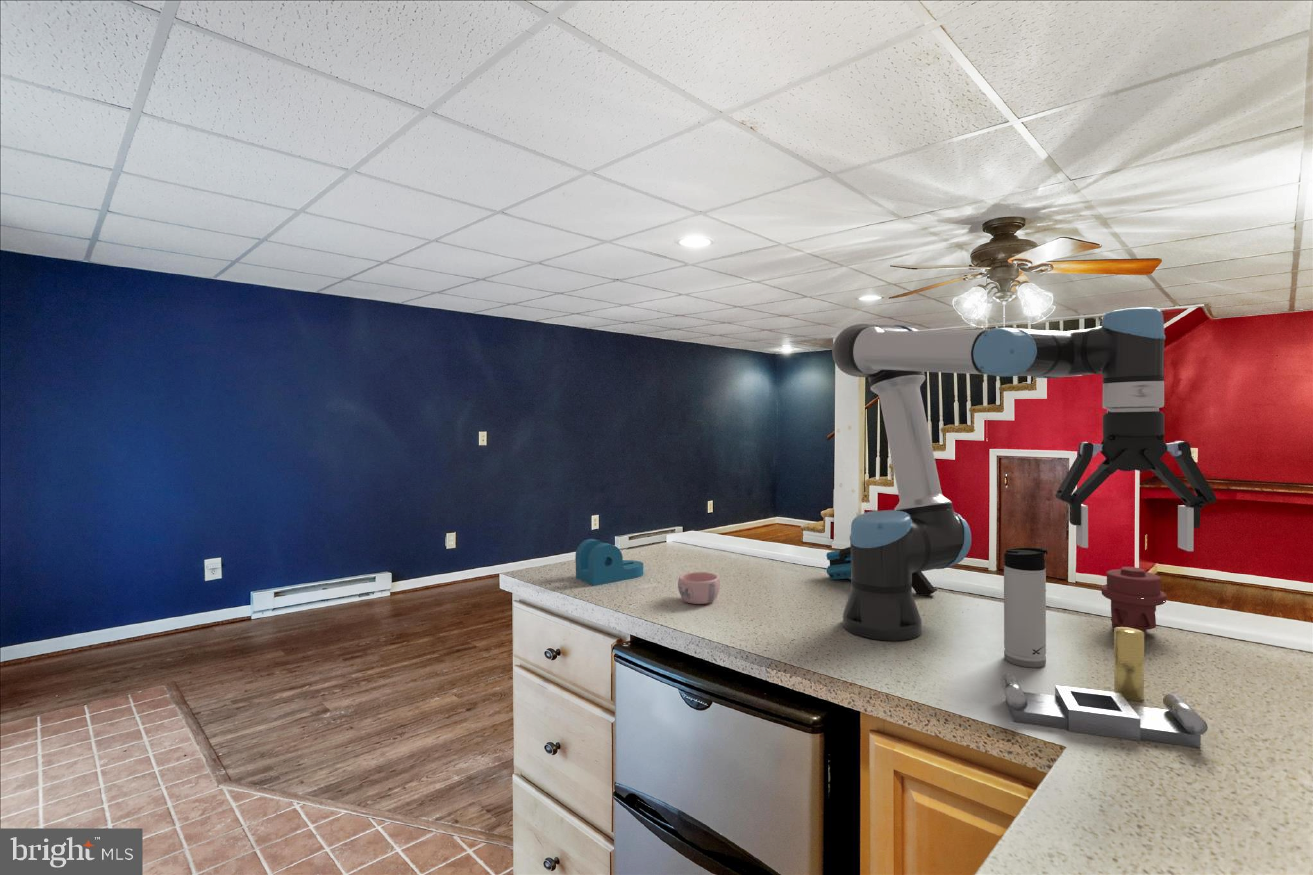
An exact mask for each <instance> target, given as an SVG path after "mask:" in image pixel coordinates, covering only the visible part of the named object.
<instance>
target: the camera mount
mask: <svg viewBox="0 0 1313 875" xmlns="http://www.w3.org/2000/svg"><path fill="white" fill-rule="evenodd" d="M623 558H624V557H623V554H622V551H621V549H619V547H617V546H616V545H613V544H611V543H606V542H603V541H601V540H598V539H594V538H588V539H585V540H583V541H582V542H581V543H580V544H579V545H578V547H577V548H576V551H575V559H574V560H575V578H576V579H577V580H579V581H581V582H583V583H586V584H588V585H591V586H593V587H597V586H602V585H603V586H604V585H607V584H612V583H618V582H622V581H628V580H634V579H637V578H640V577H643V576H644V563H643V562H642V561H640V560H639V561H638V560H633V559H629V560H628V559H623Z"/></svg>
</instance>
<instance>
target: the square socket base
mask: <svg viewBox="0 0 1313 875" xmlns="http://www.w3.org/2000/svg"><path fill="white" fill-rule="evenodd" d="M1000 684H1001V687H1002V690H1003V693H1004V695H1005V702H1006V704H1007V707H1008V710H1009V713H1010V715H1011V717H1012V721H1013V723H1022V724H1028V725H1036V726H1043V727H1049V728H1050V727H1051V728H1057V729H1064V730H1068V731H1069V732H1074V733H1081V734H1086V735H1096V736H1100V737H1101V736H1102V737H1108V738H1109V737H1111V738H1115V739H1124V740H1131V741H1137V742H1141V740H1142V741H1148V742H1155V743H1162V744H1170V745H1176V746H1177V745H1178V746H1185V747H1191V748H1197V749H1201V748H1202V747H1201V746H1202V745H1201V744H1202V743H1201V737H1202V736H1201V735H1204V734H1205V733H1207V731H1208V724H1207V722H1206V720H1204V719H1203V718H1202V717H1201V716H1200V715H1199V714H1198V712H1197V711H1195V710H1194V708H1192V706H1191V705H1190V704H1189V703H1188V702H1187V701H1186V700H1185V699H1184V698H1183V697H1182V696H1181V695H1179V694H1177V693H1167V694H1166V695H1165V696H1163V698H1162V704H1163V705H1164V707H1165V708H1166V709H1164V708H1163V709H1162V708H1155V707H1149V706H1148V707H1146V706H1141V705H1140V706H1139V705H1131V704H1129V702H1128V700H1125V698H1124V697H1123V696H1122V695H1121V693H1116V692H1114V691H1108V690H1097V689H1089V688H1082V687H1074V686H1065V685H1064V686H1063V685H1057V684H1055V685H1054V687H1055V688H1054V693H1055V694H1054V695H1053V694H1052V695H1051V694H1042V693H1036V692H1035V693H1034V692H1028V691H1027V692H1026V691H1023V689H1022V687H1021V684H1020V682H1019V679H1018V678H1017V677H1016V676H1015V675H1013V674H1008V673H1007V674H1005V675H1002V676H1001V678H1000Z"/></svg>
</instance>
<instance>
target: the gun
mask: <svg viewBox="0 0 1313 875" xmlns="http://www.w3.org/2000/svg"><path fill="white" fill-rule="evenodd" d="M825 556H826V560H827V561H829V565H828V566H827V568H826V573H827V575H828V577H829V578H830V580H831V581H832V580H833V581H834V580H845V579H851V547H850V546H847V547H845V548H841V549H839V550H831V551H829V552H826V555H825ZM912 590H914V592H915V593H914V594H915V595H916V596H931V595H932V594H934V593H935V592H937V591H938V588H935V587H934V586H933V585H932V583H931V581H929V580H928V578H927V576H925V574H924V573H923V571H921V572H915V573H912Z"/></svg>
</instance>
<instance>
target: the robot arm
mask: <svg viewBox="0 0 1313 875" xmlns="http://www.w3.org/2000/svg"><path fill="white" fill-rule="evenodd" d="M1100 324H1101V325H1100V326H1097V327H1093V328H1086V329H1084V328H1083V329H1076V330H1067V331H1065V330H1064V331H1063V330H1061V331H1060V330H1049V329H1047V330H1046V329H1045V330H1044V329H1028V328H1018V327H1014V326H1011V327H1009V326H1008V327H1007V326H1006V327H997V328H996V327H995V328H991V329H986V328H985V329H982V328H981V329H979V328H977V329H945V330H944V329H943V330H941V329H940V330H938V329H937V330H919V329H917V328H914V327H909V326H905V325H899V324H896V325H887V324H885V325H884V324H871V323H870V324H869V323H859V324H852V325H850V326H847V327H846V328H843V330H842V331H840V333H839V334H838V335H837V336H836V338H835V340H834V341H833V345H832V351H831V354H832V358H833V361H834V364H835V365H836V367H837V368H838V369H839V370H840V371H841V372H843V373H844V374H846V375H847V376H852V377H854V378H855V377H856V378H868V382H869V383H868V384H869V389H870V391H871V392H873V393H874V394H876V395H878V398H879V403H880V408H881V412H882V417H883V422H884V428H885V433H886V437H887V438H886V439H887V443H888V448H889V453H890V458H891V462H892V464H891V465H892V469H893V473H894V479H895V483H896V489H897V493H898V499H899V502H898V504H897V505H896V506H895V507H894V509H888V510H887V509H886V510H885V509H884V510H874V511H868V512H864V513H861V514H858V515H857V516H856V517H854V518H853V520H852V521H851V524H850V534H849V542H850V546H849V547H851V578H850V579H851V580H850V585H851V586H850V588H851V589H850V592H849V595H848V598H847V600H846V603H845V606H844V610H843V612H842V626H843V628H844V629H845V630H846V631H847V632H850V633H851V634H854V635H856V636H859V637H863V638H867V639H872V640H877V641H878V640H880V641H893V642H894V641H905V640H911V639H915V638H918V637H920V635H922V631H923V629H922V628H923V625H922V624H923V622H922V618H921V615H920V612H919V609H918V606H917V602H916V601H915V598H914V595H913V588H912V573H915V572H925V571H932V570H944V569H947V568H948V567H953V566H955V565H957V564H960V562H962V561H964V559H965V558H966V556H967V555H968V553H969V552H970V550H971V546H972V532H971V528H970V525H969V524H968V522H967V521H966V519H964V518H963V516H962V515H960V514H959V513H957V512H955V510H954V506H953V502H952V501H951V500H950V499H949V498H947V497H945V496H944V495H943V493H942V492H943V491H942V489H941V488H942V487H941V483H940V477H939V473H938V469H937V463H936V459H935V454H934V450H933V445H932V440H931V435H930V430H929V426H928V421H927V416H926V412H925V406H924V401H923V398H922V393H921V386H922V384H923V383H924V382H925V380H926V376H925V372H929V373H948V374H949V373H951V374H968V375H969V374H970V375H971V374H973V375H987V376H988V375H989V376H994V377H1002V378H1003V377H1008V378H1009V377H1032V378H1035V379H1060V378H1065V377H1079V376H1086V375H1087V376H1089V375H1090V376H1091V375H1102V408H1103V409H1105V410H1106V411H1107V412H1104V414H1102V440H1101V441H1102V442H1100V444H1099V443H1092V442H1087V441H1082V442H1080V443H1079V444H1078V450H1077V455H1076V458H1075V459H1074V461H1073V463H1072V464H1071V466H1070V468H1069V470H1068V472H1067V474H1066V476H1065V477H1064V479H1063V481H1062V482H1061V484H1060V486H1059V487H1058V489H1057V490H1056V492H1055V496H1054V497H1055V498H1056V499H1057V500H1059V501H1062V502H1066V503H1067V504H1068V507H1069V508H1068V512H1069V514H1068V519H1069V523H1070V525H1072V526H1075V536H1076V537H1075V544H1076V545H1077V546H1079V547H1080V548H1082V549H1084V548H1085V549H1088V548H1089V506H1088V505H1086V504H1083V503H1084V502H1085V501H1086V500H1087V499H1088V498H1089V497H1090V496H1091V495H1092V494H1093V493H1094V492H1096V490H1097V489H1098V488H1099V487H1100V486H1101V485H1102V484H1103V483H1104V482H1105V481H1106V480H1107V479H1108V478H1109V477H1110V476H1111V475H1113V474H1114V473H1116V472H1117V471H1120V472H1132V471H1138V472H1148V471H1150V472H1152V473H1153V474H1155V476H1157V477H1158V479H1160V480H1161V482H1163V483H1164V485H1165V486H1166V487H1168V488H1169V490H1171V491H1172V492H1173V494H1175V495H1176V496H1177V497H1178V499H1180V500H1181V501H1182V502H1183V503H1184V504H1185V505H1184V504H1183V505H1177V548H1178V549H1181V550H1184V551H1186V552H1194V542H1195V540H1194V538H1195V536H1194V533H1195V532H1194V531H1195V529H1199V528H1200V527H1201V509H1203V508H1204V507H1205V506H1206V505H1208V504H1215V503H1216V502H1218V500H1217V499H1218V497H1217V496H1216V494H1215V493H1214V491H1213V489H1212V487H1211V486H1210V484H1209V483H1208V480H1206V477H1205V476H1204V474H1203V472H1202V470H1200V468H1199V466H1198V464H1197V463H1196V461H1195V459H1194V458H1193V455H1192V449H1191V444H1190V442H1188V441H1183V440H1182V441H1181V440H1175V441H1173V442H1169V443H1166V441H1165V440H1164V436H1165V413H1163V411H1160V408H1164V406H1165V376H1164V371H1165V369H1164V368H1165V366H1164V365H1165V340H1166V337H1167V336H1166V335H1165V322H1164V315H1163V312H1162V311H1161V310H1160V309H1159V308H1155V307H1148V306H1147V307H1132V308H1124V309H1122V308H1121V309H1116V310H1113V311H1108V312H1106V313H1105V314H1103V316H1102V320H1101V323H1100ZM1167 452H1169V454H1170V456H1172V457H1173V458H1174V459H1175V462H1176V464H1177V466H1178V467H1179V468H1180V470H1181V472H1182V473H1183V475H1184V477H1185V479H1186V480H1187V481H1188V483H1189V486H1190V487H1191V488H1192V490H1193V491H1194V492H1193V491H1192V490H1191V489H1190V488H1189V487H1188V486H1187V485H1186V484H1185V483H1184V482H1183V481H1182V480H1180V479H1179V477H1178V476H1177V475H1176V474H1175V473H1174V472H1173V471H1172V470H1171V469H1170V467H1169V466H1168V465H1167V464H1166V463H1165V462H1164V461H1163V460H1162V458H1163V457H1164V455H1165V454H1166V453H1167ZM1098 453H1101V454H1102V456H1103V457H1104V459H1103V461H1102V462H1101V463H1100V464H1098V466H1097V468H1096V469H1095V470H1094V471H1093V472H1092V473H1091V474H1090V475H1089V476H1088V477H1087V478H1086V479H1085V481H1084V482H1082V484H1080V486H1078V487H1077V485H1078V484H1079V482H1080V480H1081V479H1082V477H1083V475H1084V474H1085V471H1086V470H1087V468H1088V467H1089V464H1090V463H1091V461H1092V460H1093V459H1092V458H1095V457H1096V456H1097V454H1098ZM1076 487H1077V488H1076Z"/></svg>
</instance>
